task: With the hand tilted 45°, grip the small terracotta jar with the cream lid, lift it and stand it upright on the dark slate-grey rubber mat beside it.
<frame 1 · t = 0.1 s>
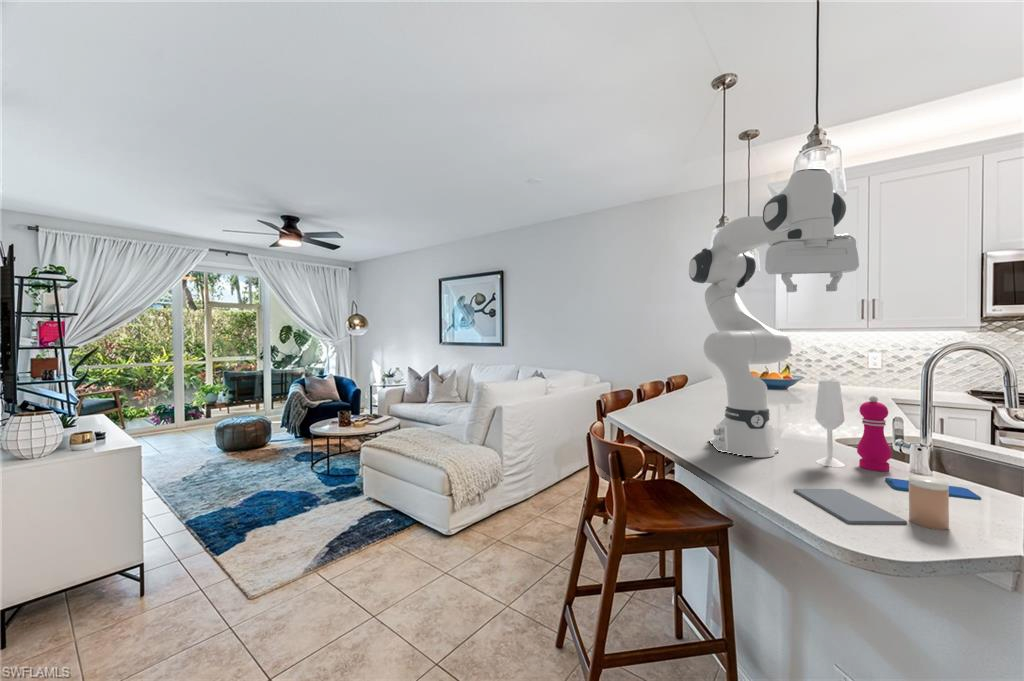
hand: (811, 291, 100), 48 cm above the counter, tool pointing down, fingers open, 8 cm apart
smartphone: (930, 491, 97), on the counter
slate mat: (844, 506, 89), on the counter
champagne flute: (830, 464, 118), on the counter
terracotta jar: (928, 523, 80), on the counter
pepper mill: (874, 468, 113), on the counter
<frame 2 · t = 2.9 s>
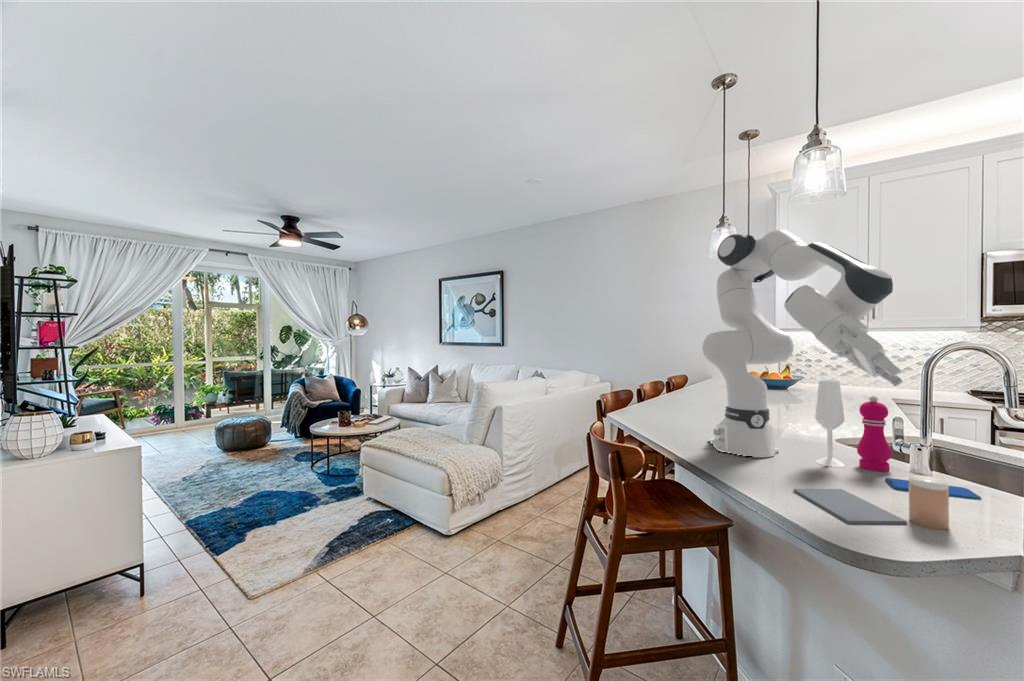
hand: (898, 379, 89), 27 cm above the counter, tool tilted 45°, fingers open, 8 cm apart
nothing on the counter moved.
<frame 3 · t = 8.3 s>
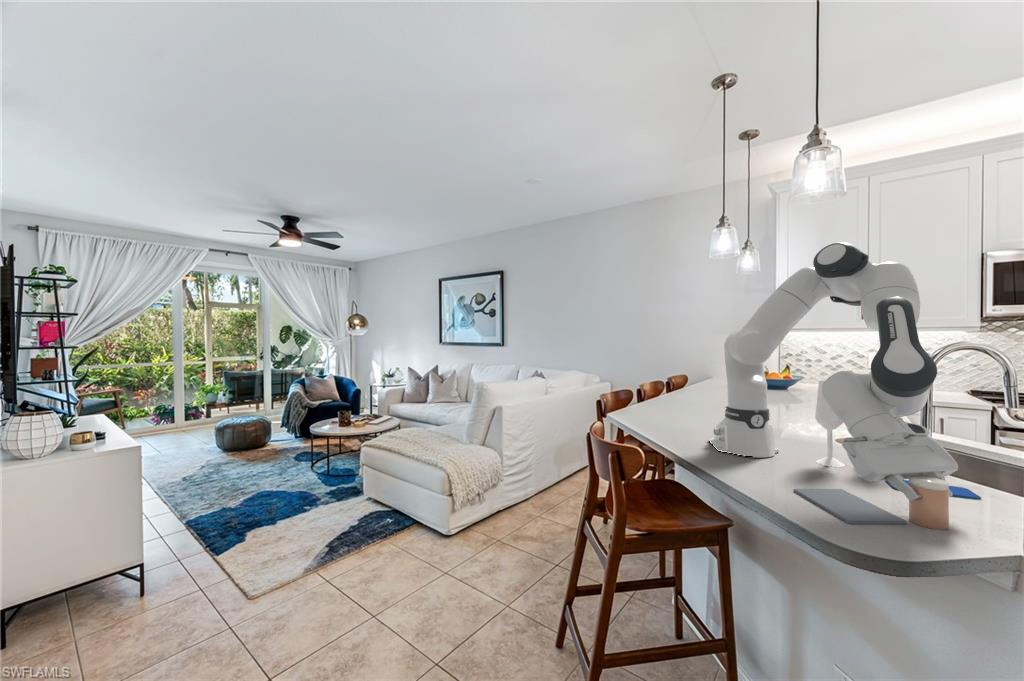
hand: (931, 498, 80), 5 cm above the counter, tool tilted 45°, fingers closed on terracotta jar, 5 cm apart
terracotta jar: (928, 523, 80), on the counter, touching gripper
everything else where it was.
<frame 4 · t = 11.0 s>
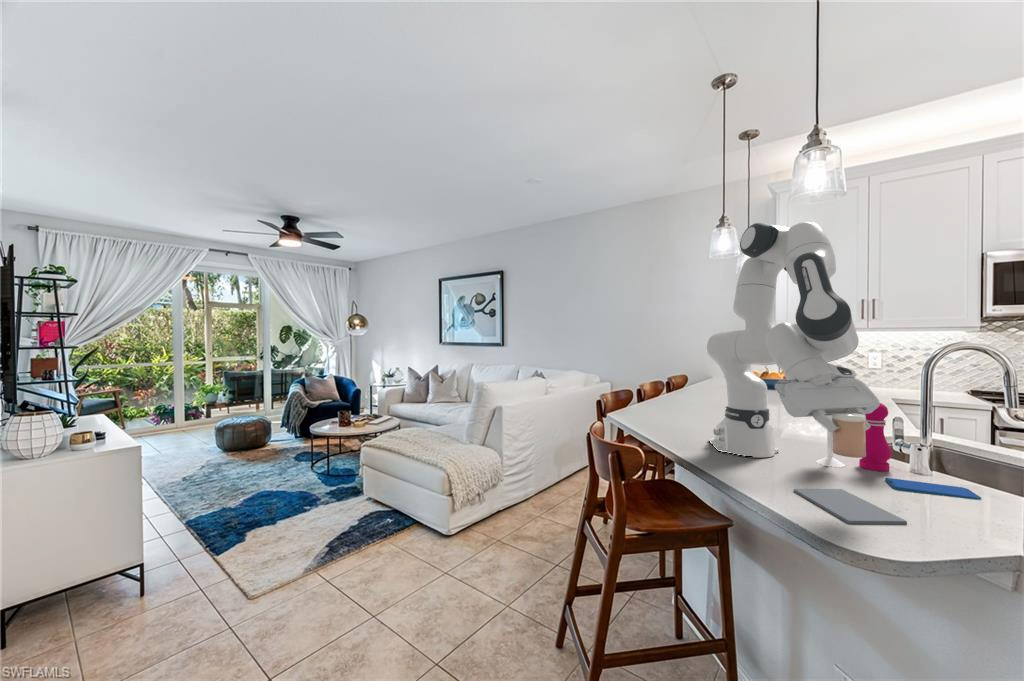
hand: (850, 429, 87), 17 cm above the counter, tool tilted 45°, fingers closed on terracotta jar, 5 cm apart
terracotta jar: (848, 453, 88), point 12 cm above the counter, touching gripper
everything else where it was.
when the fingers open (7 cm above the counter, at t = 14.2 s): terracotta jar stays where it is, resting on slate mat.
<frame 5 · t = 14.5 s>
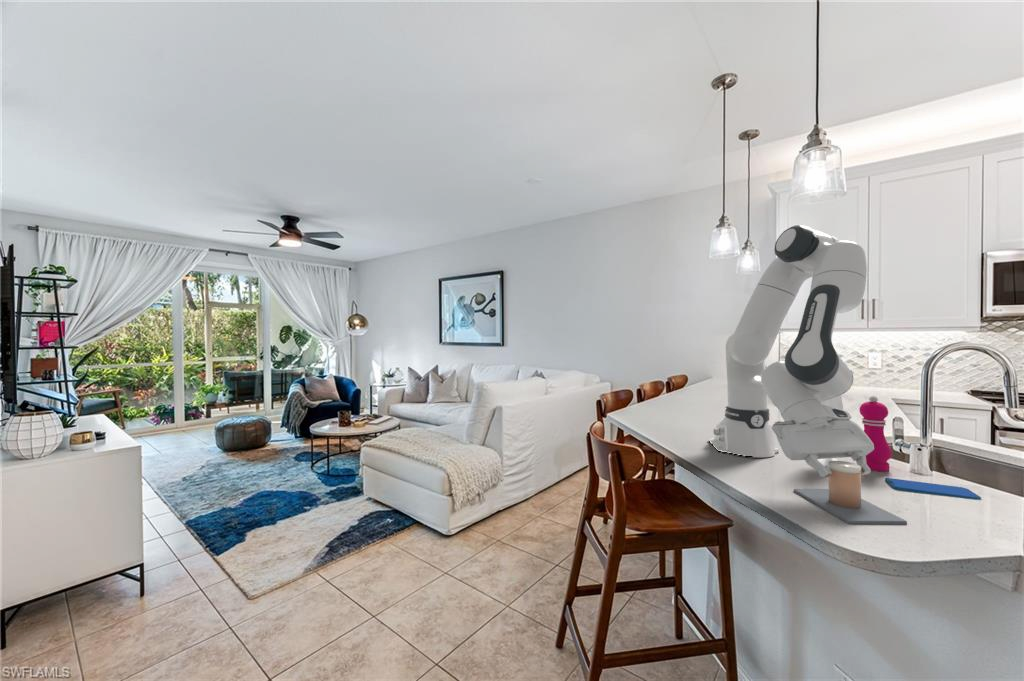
hand: (846, 474, 88), 7 cm above the counter, tool tilted 45°, fingers open, 8 cm apart
terracotta jar: (844, 503, 89), point 1 cm above the counter, touching slate mat
everything else where it was.
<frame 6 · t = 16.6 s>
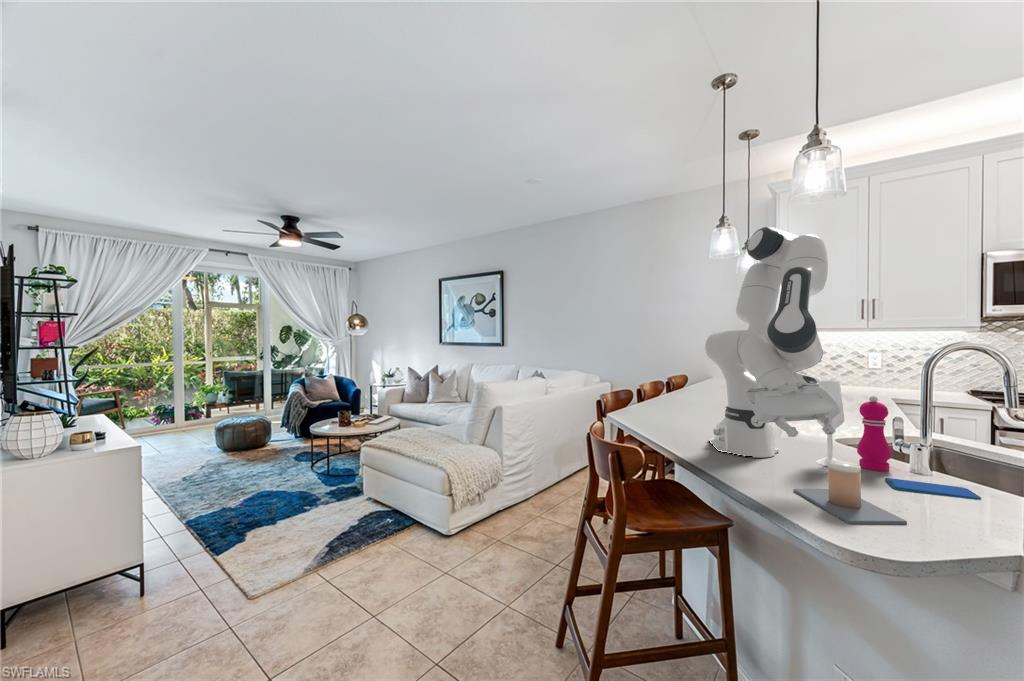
hand: (812, 434, 96), 14 cm above the counter, tool tilted 45°, fingers open, 8 cm apart
nothing on the counter moved.
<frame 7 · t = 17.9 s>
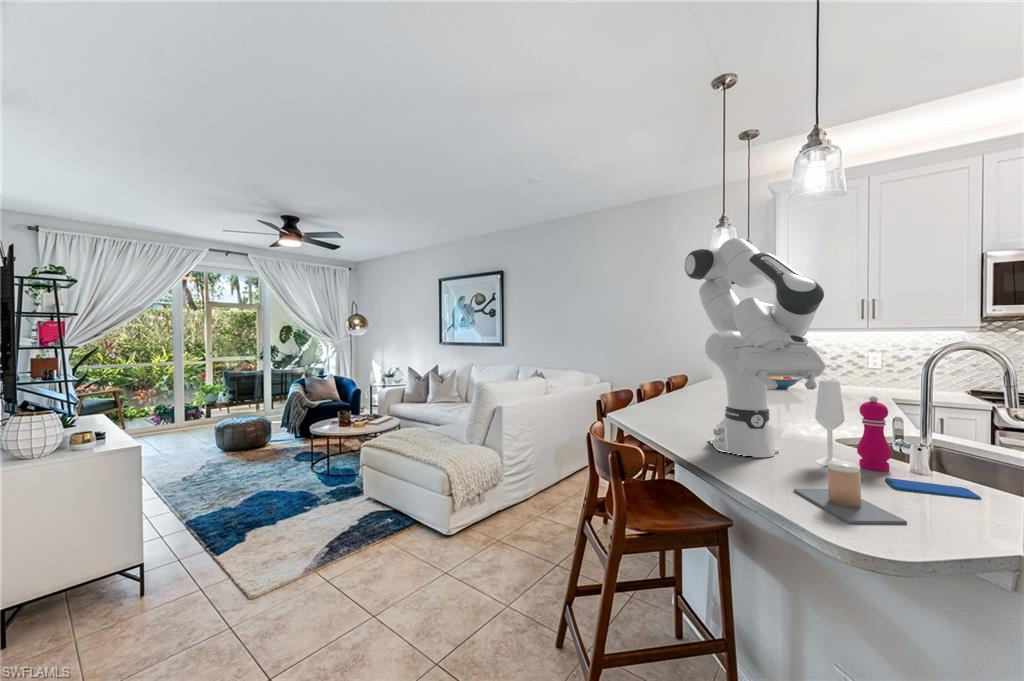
hand: (793, 388, 98), 25 cm above the counter, tool tilted 45°, fingers open, 8 cm apart
nothing on the counter moved.
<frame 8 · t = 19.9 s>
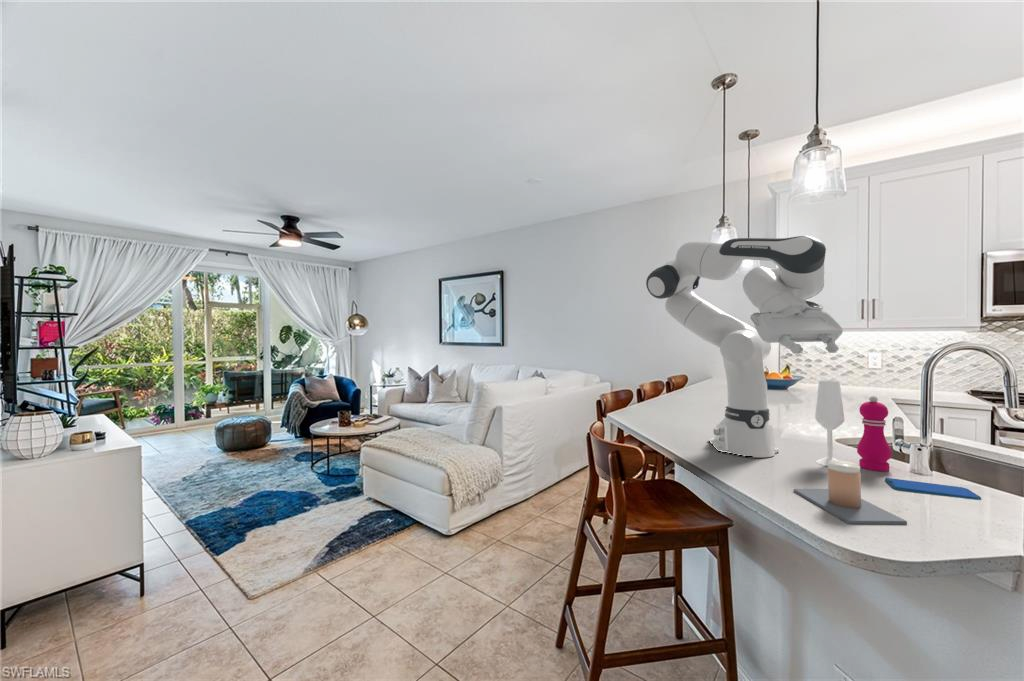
hand: (816, 351, 97), 33 cm above the counter, tool tilted 45°, fingers open, 8 cm apart
nothing on the counter moved.
at the end: terracotta jar inside the target area on the slate mat (0.1 cm from its centre), point 0.6 cm above the slate mat's base; terracotta jar tilted 1°; the gripper is holding nothing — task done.
